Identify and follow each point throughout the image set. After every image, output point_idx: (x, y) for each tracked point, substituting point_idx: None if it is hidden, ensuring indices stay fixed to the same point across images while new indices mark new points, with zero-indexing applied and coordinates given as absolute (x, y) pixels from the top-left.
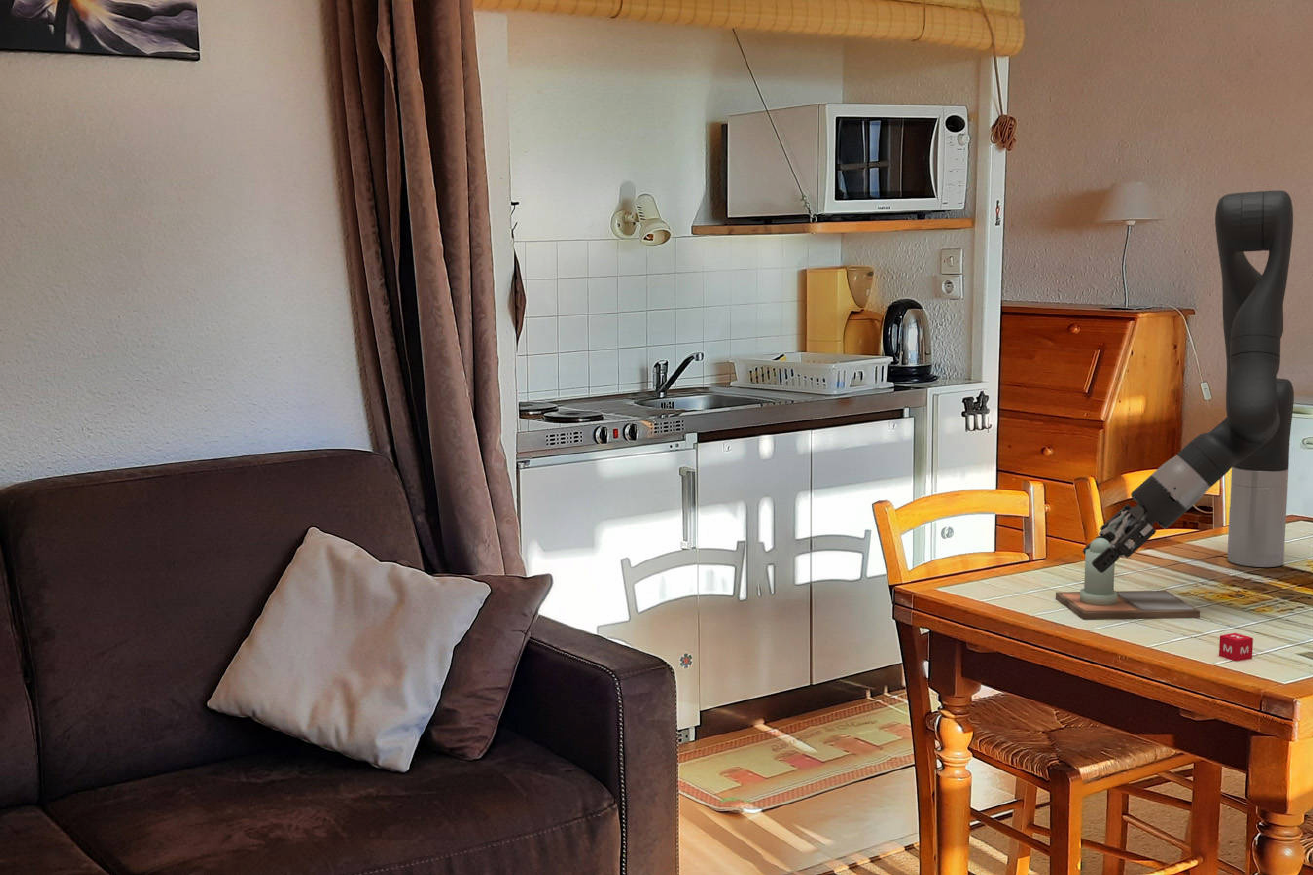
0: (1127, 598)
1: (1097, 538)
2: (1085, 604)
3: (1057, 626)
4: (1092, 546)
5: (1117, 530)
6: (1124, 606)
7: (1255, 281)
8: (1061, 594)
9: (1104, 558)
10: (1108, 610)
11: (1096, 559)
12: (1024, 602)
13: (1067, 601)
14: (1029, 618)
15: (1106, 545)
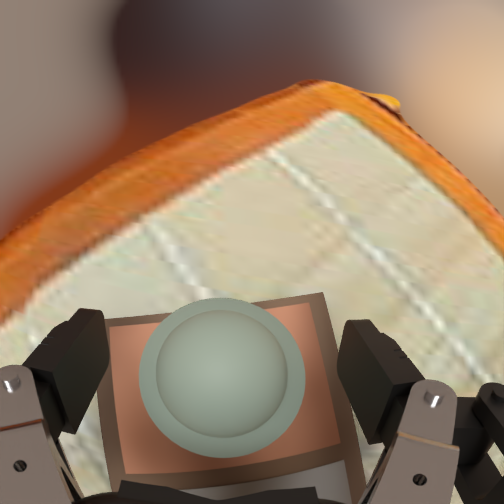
0: (269, 484)
1: (228, 343)
2: None
3: (55, 254)
4: (192, 316)
5: (47, 450)
6: (163, 454)
7: None
8: (301, 303)
9: (42, 345)
10: (114, 394)
11: (72, 318)
12: (265, 221)
13: None
14: (120, 210)
15: (165, 396)
